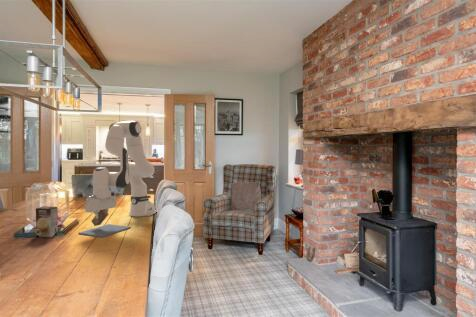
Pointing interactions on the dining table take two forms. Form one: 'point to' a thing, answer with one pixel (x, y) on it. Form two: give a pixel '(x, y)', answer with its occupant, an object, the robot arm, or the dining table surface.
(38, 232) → the coffee box
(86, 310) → the dining table surface
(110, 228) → the mat
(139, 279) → the dining table surface
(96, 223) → the walnut block
